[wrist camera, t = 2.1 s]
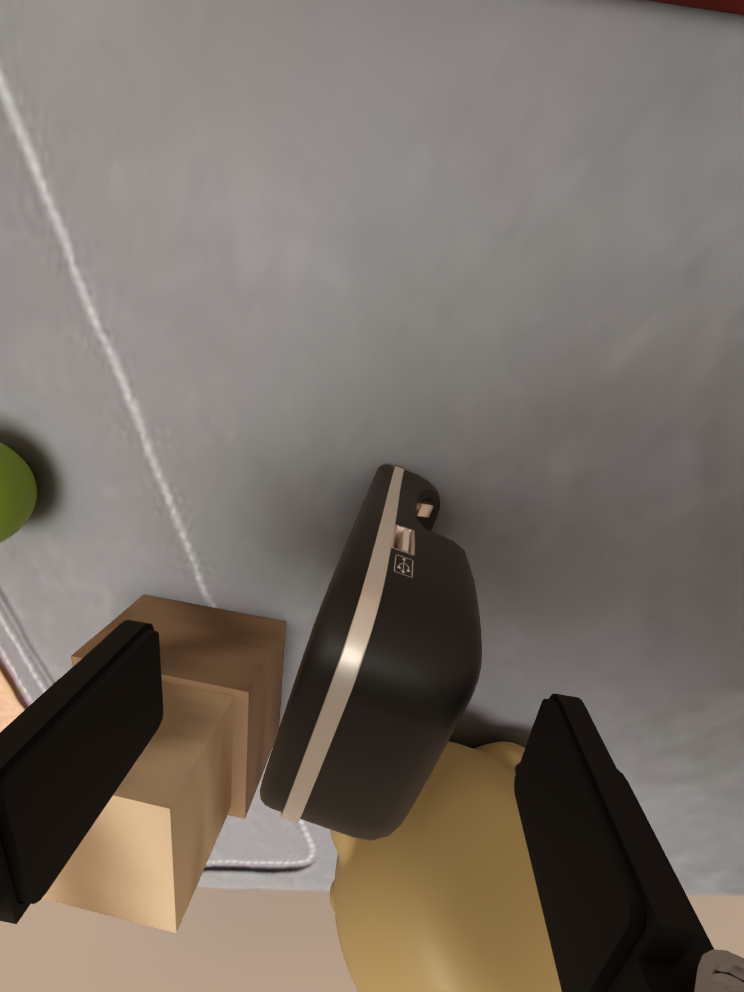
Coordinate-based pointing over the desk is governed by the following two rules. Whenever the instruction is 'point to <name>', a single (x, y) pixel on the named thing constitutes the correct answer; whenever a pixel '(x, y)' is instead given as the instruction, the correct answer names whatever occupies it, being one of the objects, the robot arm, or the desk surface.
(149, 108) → the desk surface
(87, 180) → the desk surface
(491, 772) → the toy pig
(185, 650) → the walnut block
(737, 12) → the hardcover book
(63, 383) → the desk surface
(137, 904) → the oak block
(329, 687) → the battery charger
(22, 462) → the snail figurine
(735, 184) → the desk surface
